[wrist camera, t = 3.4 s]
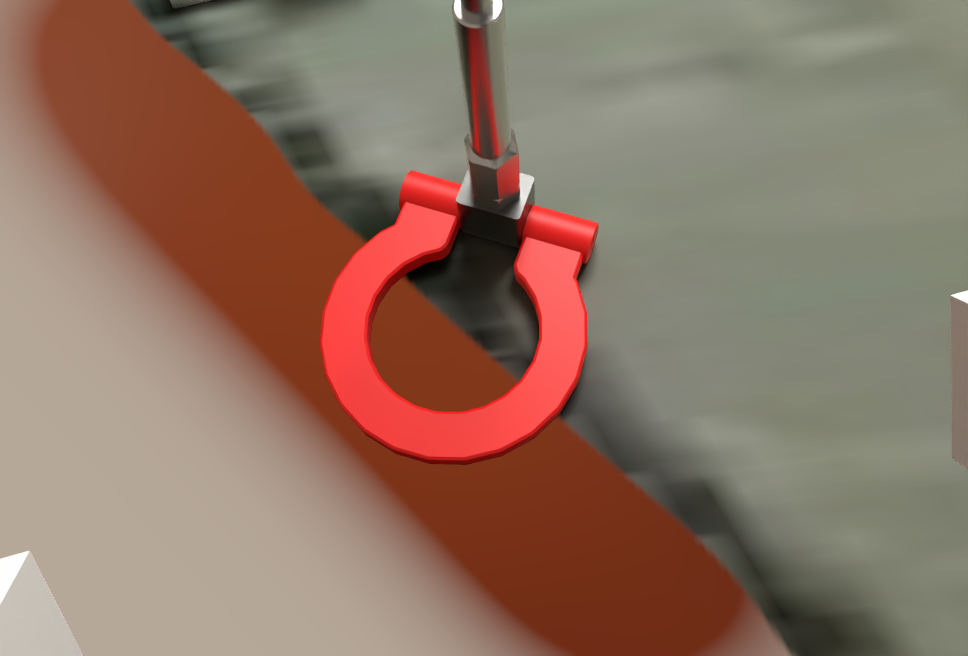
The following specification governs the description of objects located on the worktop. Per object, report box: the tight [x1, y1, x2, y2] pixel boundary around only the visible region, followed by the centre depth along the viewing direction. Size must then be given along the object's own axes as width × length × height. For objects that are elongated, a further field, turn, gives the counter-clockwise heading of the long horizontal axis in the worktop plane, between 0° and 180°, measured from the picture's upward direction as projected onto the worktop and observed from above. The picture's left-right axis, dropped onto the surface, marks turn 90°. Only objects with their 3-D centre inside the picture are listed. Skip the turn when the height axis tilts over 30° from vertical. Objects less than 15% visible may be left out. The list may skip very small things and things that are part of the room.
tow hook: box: [320, 0, 598, 465], centre depth 22 cm, size 8×13×9 cm
